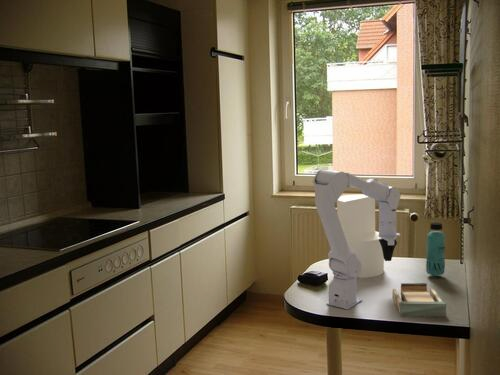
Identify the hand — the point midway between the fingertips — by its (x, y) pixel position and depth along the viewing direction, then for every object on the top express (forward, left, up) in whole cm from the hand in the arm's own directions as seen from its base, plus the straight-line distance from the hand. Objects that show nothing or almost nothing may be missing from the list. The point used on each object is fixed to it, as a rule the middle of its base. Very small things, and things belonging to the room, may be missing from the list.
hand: (387, 260), depth 181 cm
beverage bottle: (+22, -8, -11) cm, 26 cm away
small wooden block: (-8, -14, -10) cm, 19 cm away
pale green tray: (-8, -14, -10) cm, 19 cm away
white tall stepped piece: (+14, +18, -11) cm, 25 cm away
